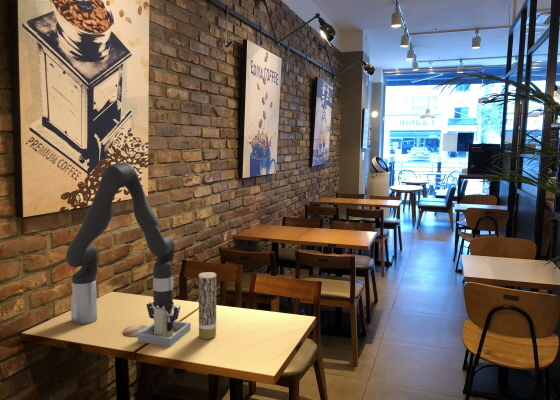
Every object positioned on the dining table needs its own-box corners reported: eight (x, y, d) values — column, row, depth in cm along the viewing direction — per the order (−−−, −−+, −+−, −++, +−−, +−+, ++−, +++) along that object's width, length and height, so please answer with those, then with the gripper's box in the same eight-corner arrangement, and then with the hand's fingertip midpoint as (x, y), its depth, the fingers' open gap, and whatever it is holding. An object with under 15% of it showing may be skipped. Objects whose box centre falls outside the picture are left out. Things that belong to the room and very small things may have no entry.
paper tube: (201, 340, 171) (201, 277, 168) (196, 334, 177) (196, 273, 174) (218, 337, 174) (218, 275, 171) (212, 331, 180) (213, 271, 177)
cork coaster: (117, 334, 175) (117, 333, 175) (133, 325, 185) (133, 323, 185) (140, 337, 172) (139, 336, 172) (154, 328, 182) (154, 326, 182)
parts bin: (137, 341, 169) (137, 333, 169) (160, 325, 184) (160, 318, 184) (170, 346, 165) (170, 338, 165) (190, 330, 181) (190, 323, 180)
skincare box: (162, 340, 170) (162, 310, 169) (153, 338, 172) (153, 308, 171) (173, 334, 176) (173, 305, 174) (164, 332, 178) (164, 303, 176)
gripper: (141, 288, 170) (142, 331, 172) (174, 292, 166) (175, 336, 168) (152, 283, 177) (152, 323, 179) (184, 286, 173) (184, 328, 175)
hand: (163, 329), depth 174 cm, fingers closed on skincare box, 4 cm apart
